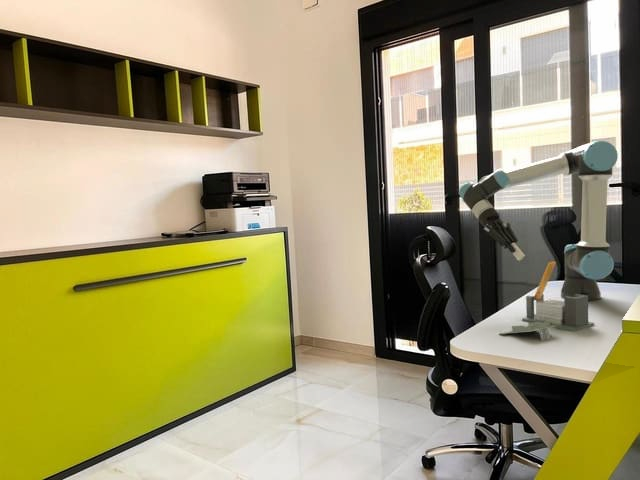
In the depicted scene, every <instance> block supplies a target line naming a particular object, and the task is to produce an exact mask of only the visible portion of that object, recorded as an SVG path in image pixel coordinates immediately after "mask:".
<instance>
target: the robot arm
mask: <svg viewBox="0 0 640 480" xmlns="http://www.w3.org/2000/svg"><path fill="white" fill-rule="evenodd" d="M618 154H619V153H618V151H617V149H616V147H615V146H614V145H613V144H612V143H610V142H609V141H605V140H595V141H593V140H592V141H591V142H588V143H584V144H582V145H580V146H577V147H576V148H573V149H570V150H568V151H564V152H562V153H560V154H559V155H558V156H556V157H552V158H547V159H545V160H540V161H537V162H533V163H530V164H526V165H521V166H518V167H514V168H510V169H507V170H504V169H502V168H498V169H497V170H495V171H493V172H492V173H491V174H488V175H484V176H482V177H481V178H480V179H479V181H478V182H477V183H474V182H472V181H470V182H467V183H464V184H463V185H462V186H460V188H459V190H458V195H459V196H460V198H461V200H462V201H463V203H465V205H466V206H467V208H468V209H470V211H471V213H473V215H474V216H475V217H476V218H477V220H478V222H479V223H480V224H481V225H482V226H483V227H484V228H483V231H484V232H485V233H487V234H488V235H489V236H490V237H491V238H492V239H493V240H494V241H495V242H497V244H498V245H500V246H501V247H503V248H504V249H508V250H509V252H510V253H511V254H512V255H513V257H515V258H516V260H517V261H518V262H519V261H521V260H523V259H524V257H526V255H525V253H524V252H523V251H522V250H521V248H520V247H519V245H517V242H518V241H519V240H518V238H517V236H516V235H515V233H514V230H513V229H512V228H511V224H510V223H509V222H507V223H505V222H504V221H502V220H501V219H500V214H499V212H498V211H497V210H496V209H495V208H494V206H493V204H492V203H490V201H489V200H488V199H489V198H490V197H492V196H493V195H495V194H497V193H498V192H500V191H502V190H505V189H509V188H513V187H517V186H520V185H524V184H528V183H529V184H530V183H532V182H536V181H541V180H544V179H548V178H552V177H556V176H560V175H564V176H569V175H574V174H578V178H579V179H580V180H581V181H582V188H581V189H582V191H581V192H582V193H581V219H580V220H581V223H580V226H581V227H580V228H581V229H580V241H578V243H576V244H575V243H574V244H567V245H566V246H565V247H564V251H563V253H564V282H563V284H562V287H561V290H560V297H561V298H562V299H564V297H566V296H568V297H574V295H575V294H579V295H586V296H588V301H596V300H600V299H602V298H601V297H602V294H601V291H600V290H601V289H600V288H599V285H598V282H597V280H602V279H605V278H606V277H608V276H610V274H611V273H612V271H613V270H614V268H615V267H614V266H615V262H614V259H613V257H612V255H610V251H611V249H610V248H611V245H610V244H609V243H608V242H607V241H606V239H607V238H606V235H607V234H606V232H607V209H608V208H607V207H608V206H607V205H608V203H607V202H608V180H609V179H610V178H611V177H612V176H613V170H614V169H613V167H614V166H615V165H616V164H617V161H618Z"/></svg>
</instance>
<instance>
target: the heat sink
mask: <svg viewBox="0 0 640 480" xmlns="http://www.w3.org/2000/svg"><path fill="white" fill-rule="evenodd" d="M534 296H535V295H534ZM534 296H533V295H527V296H525V297H526V298H525V299H526V301H525V302H526V303H525V305H526V306H525V307H526V317H529V318H534V315H535V320H538V321H543V322H546V321H549V323H552V324H557V325H565V306H564V300H558V299H552V298H548V299H545V298H544V296H545V295H544V293H543V294H542V296H541V297H542V298H541V299H539V300H534Z"/></svg>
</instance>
